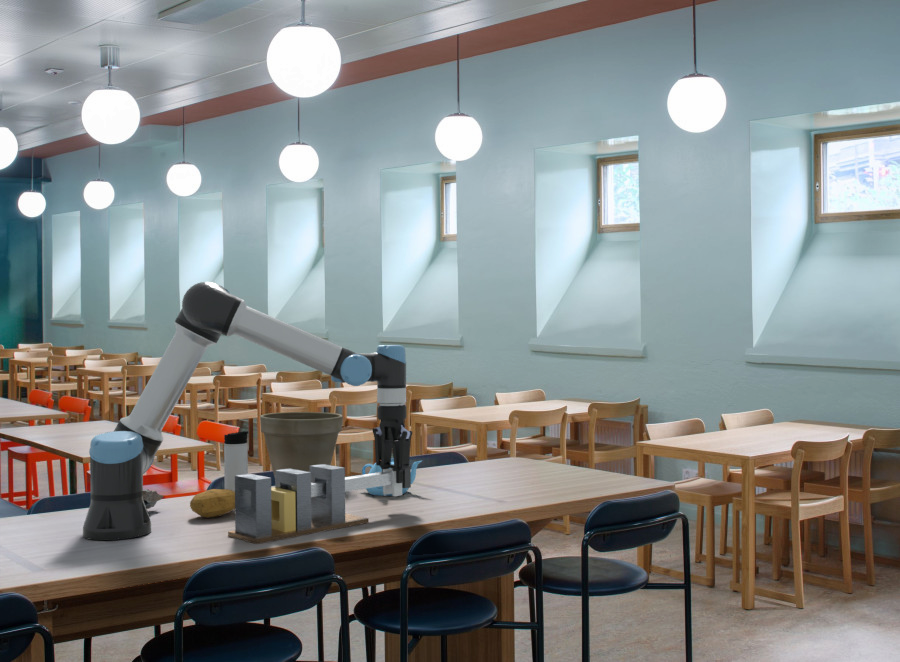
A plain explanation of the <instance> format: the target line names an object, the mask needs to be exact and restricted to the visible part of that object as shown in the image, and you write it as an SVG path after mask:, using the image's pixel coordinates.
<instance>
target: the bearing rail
mask: <svg viewBox="0 0 900 662" xmlns="http://www.w3.org/2000/svg"><path fill="white" fill-rule="evenodd" d="M309 468H310V472H306V471H300V470H295V469H282V470H275V477H274V487H276V488H281V489H285V490H289V486H288V485H291V488H292V491H295V507H296V530H295V531H290V532H282V531H278V530H274V529H272V513H271V488H272V477H268V476H264V475H257V474H254V473H248V474H243V475H236V476H235V509H234V528H235V529H234V530H231V531H230V530H229V531H227V536H228V537H231V538H234V539H236V540H237V539H238V540H241V541H243V542H244V541H245V542H248V543H251V544H255V545H258V544H264V543H269V542H273V541H279V540H284V539H289V538H290V539H291V538H295V537H300V536H304V535H305V536H306V535H310V534H314V533H321V532H325V531H326V532H327V531H331V530H337V529H342V528H346V527H351V526H358V525H363V524H367V523H369V518H367V517H363V516H359V515H355V514H349V513H346V492H345V477H346V470H345V469H346V467H343V466H338V465H337V466H336V465H325V464H320V465H312V466H309ZM323 480H326V495H322V496H316V497H311V482H316V481H323Z"/></svg>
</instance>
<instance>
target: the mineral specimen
mask: <svg viewBox="0 0 900 662" xmlns="http://www.w3.org/2000/svg"><path fill="white" fill-rule="evenodd" d="M163 498H164V495H163V494H160V493H158V491H157V490H150V489H148V488H147V489H146V488H145V489H144V488H143V501H144V504H145V506H146V509H147V510H148V509H151V508H154V507H155V506H156V504H157V502H159V501H161V500H162V499H163Z"/></svg>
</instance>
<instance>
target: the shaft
mask: <svg viewBox="0 0 900 662" xmlns="http://www.w3.org/2000/svg"><path fill="white" fill-rule="evenodd" d="M391 466H392V467H391V468H393V469H394V464H392V465H391ZM411 469H412V465H409V468H406V469H404V470H403V483H402V488H409V489H410V488H411V486H412V484H411ZM392 471H393V470H392ZM392 471H385V472H378V473H371V474H368V473H366V474H364V475H362V474H358V475H351V476H345V493H346V492H352V491H353V492H354V491H359V490H366V488H372V487H379V486H385V485H391V484H392ZM288 486H289V490H290V491H292V488H291V485H288ZM322 495H326V480H323V481H316V482H311V497H316V496H322Z"/></svg>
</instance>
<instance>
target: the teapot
mask: <svg viewBox="0 0 900 662" xmlns="http://www.w3.org/2000/svg"><path fill="white" fill-rule="evenodd" d="M422 462H423V460H418V461H414V462H413V463H412V464H411V485H413V483H414V482H415V480H416V475H417V468H418V465H419V464H420V463H422ZM392 464H394V460H393V457H391V465H392ZM368 467H370V469H369V471H368V473H366V469H367V468H368ZM378 472H382V469H381V467H380V466H377V465H376V462H375V463H374V464H372V463H366V464H365V465H364V466H363V467H362V469H361V475H364V474H371V473H378ZM409 489H410V488H402V495H403V494H406V493H407V492H408V490H409ZM365 490H366V491H367V493H368V494H370V495H373V496H380V497H383V496H385V497H388V496H392V494H386V495H384V494H383V486H379V487H372V488H366V489H365ZM392 497H393V496H392Z"/></svg>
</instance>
